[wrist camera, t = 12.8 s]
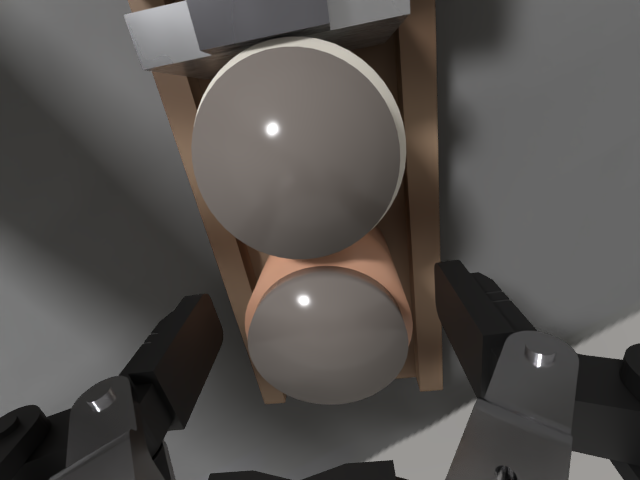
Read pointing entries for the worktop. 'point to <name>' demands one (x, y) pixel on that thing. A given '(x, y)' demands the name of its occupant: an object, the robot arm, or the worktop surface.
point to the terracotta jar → (330, 323)
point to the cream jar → (298, 147)
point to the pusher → (252, 29)
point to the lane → (397, 224)
